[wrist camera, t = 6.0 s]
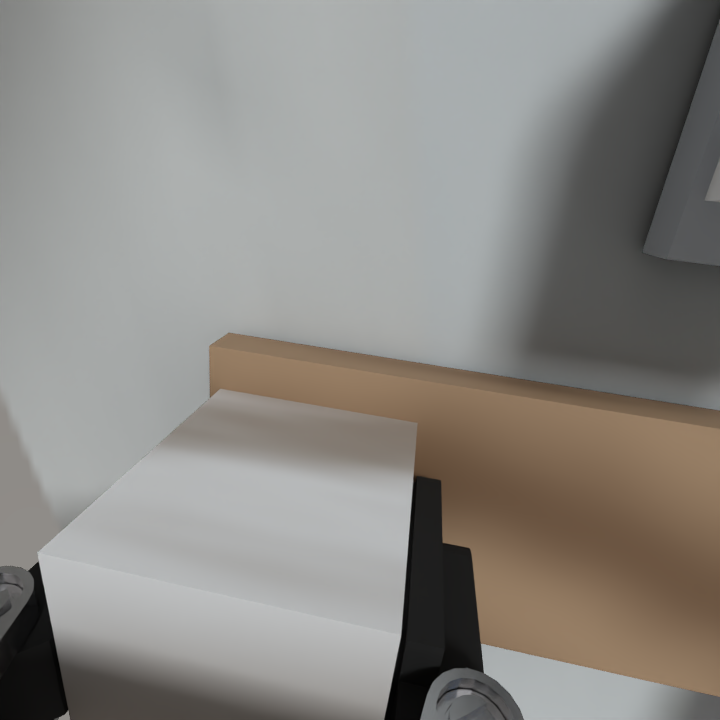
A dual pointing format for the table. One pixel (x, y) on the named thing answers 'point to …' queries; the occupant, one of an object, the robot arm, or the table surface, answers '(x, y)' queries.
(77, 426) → the table surface
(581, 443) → the walnut strip
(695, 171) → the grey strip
